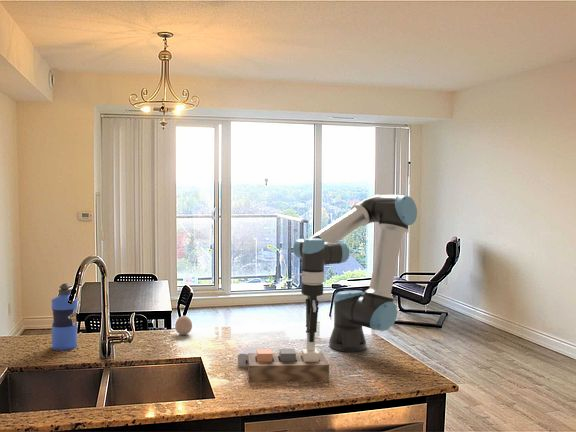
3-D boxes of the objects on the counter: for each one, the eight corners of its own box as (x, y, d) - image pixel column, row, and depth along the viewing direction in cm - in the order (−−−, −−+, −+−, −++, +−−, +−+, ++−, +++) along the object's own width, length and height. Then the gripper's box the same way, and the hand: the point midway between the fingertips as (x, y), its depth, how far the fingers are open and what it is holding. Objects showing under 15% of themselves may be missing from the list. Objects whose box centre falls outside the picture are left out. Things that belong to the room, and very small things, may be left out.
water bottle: (80, 343, 208) (81, 282, 207) (71, 350, 199) (72, 286, 197) (57, 343, 208) (57, 281, 206) (47, 350, 198) (47, 285, 197)
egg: (184, 338, 219) (184, 318, 219) (171, 335, 223) (171, 316, 222) (195, 334, 225) (195, 315, 225) (182, 331, 229) (183, 313, 229)
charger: (272, 355, 200) (262, 368, 185) (249, 353, 202) (237, 366, 187) (272, 343, 200) (262, 355, 185) (250, 341, 202) (237, 353, 187)
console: (322, 367, 188) (322, 352, 187) (328, 380, 175) (329, 364, 175) (247, 368, 185) (247, 353, 184) (248, 381, 172) (249, 365, 172)
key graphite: (293, 365, 183) (294, 348, 182) (295, 370, 177) (296, 353, 177) (279, 365, 182) (279, 348, 182) (280, 370, 177) (280, 353, 177)
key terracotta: (271, 365, 182) (271, 348, 181) (272, 370, 177) (272, 353, 176) (256, 365, 181) (256, 348, 181) (257, 371, 176) (257, 353, 176)
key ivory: (316, 365, 183) (316, 348, 183) (318, 370, 178) (319, 353, 178) (301, 365, 183) (302, 348, 183) (303, 370, 178) (304, 353, 177)
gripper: (299, 279, 185) (297, 344, 186) (304, 286, 172) (302, 356, 173) (319, 279, 186) (318, 344, 187) (326, 286, 173) (324, 356, 174)
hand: (310, 350), depth 180 cm, fingers closed
